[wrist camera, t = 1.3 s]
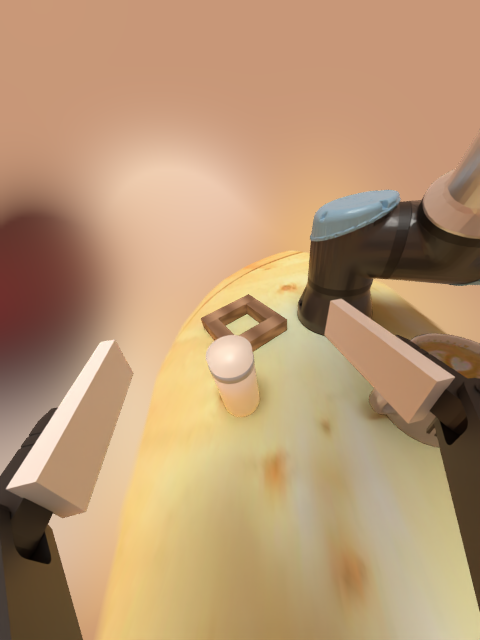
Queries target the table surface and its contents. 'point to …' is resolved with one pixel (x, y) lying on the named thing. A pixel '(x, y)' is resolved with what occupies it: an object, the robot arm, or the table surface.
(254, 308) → the cradle
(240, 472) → the table surface
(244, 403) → the white cylinder
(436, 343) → the coffee mug
